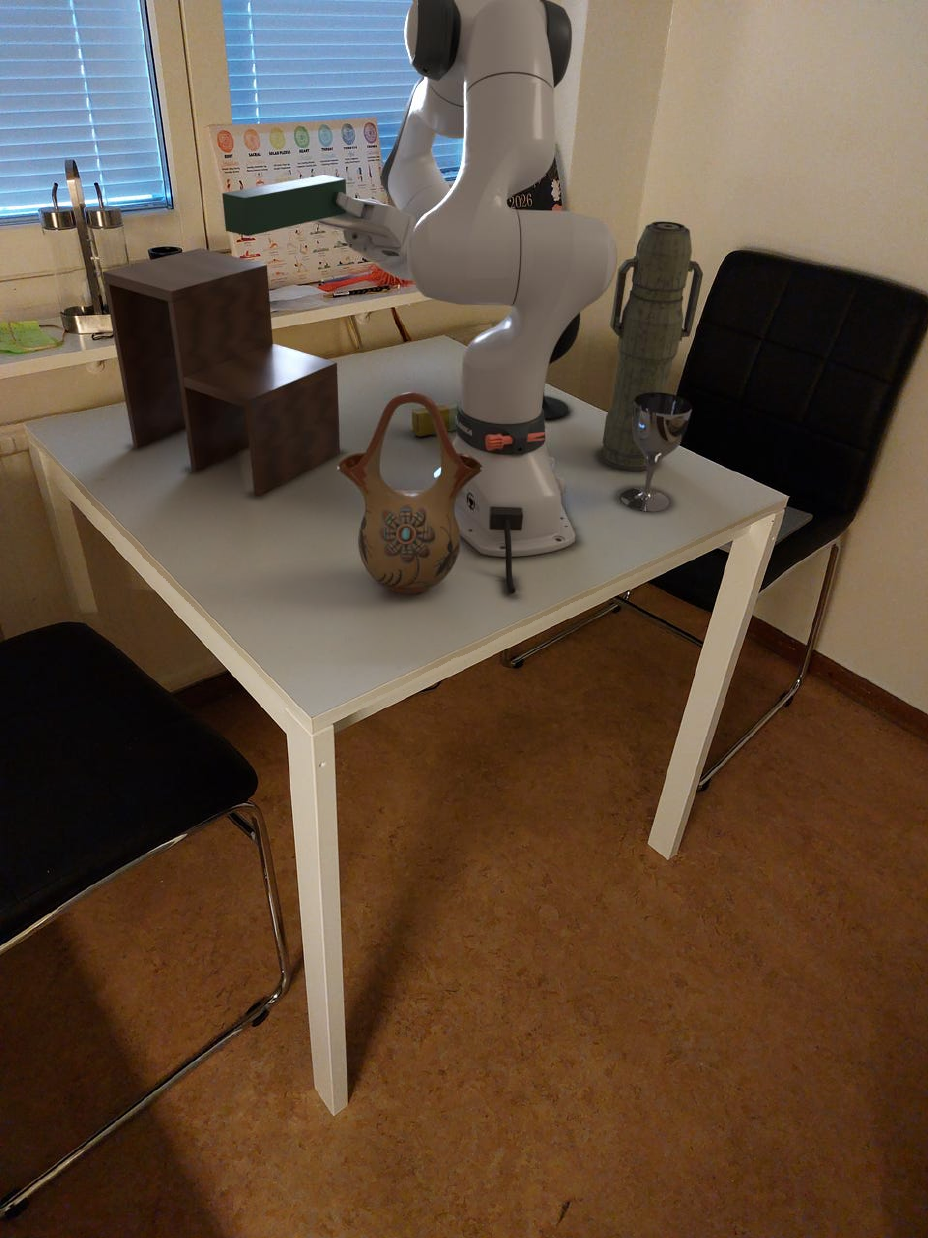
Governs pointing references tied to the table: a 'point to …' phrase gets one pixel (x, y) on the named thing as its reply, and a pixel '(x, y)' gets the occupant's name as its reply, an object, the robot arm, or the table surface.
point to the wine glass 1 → (551, 405)
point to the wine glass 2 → (656, 441)
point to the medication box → (424, 423)
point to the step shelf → (219, 366)
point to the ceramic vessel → (409, 510)
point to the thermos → (648, 330)
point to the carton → (281, 204)
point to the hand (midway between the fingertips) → (322, 193)
